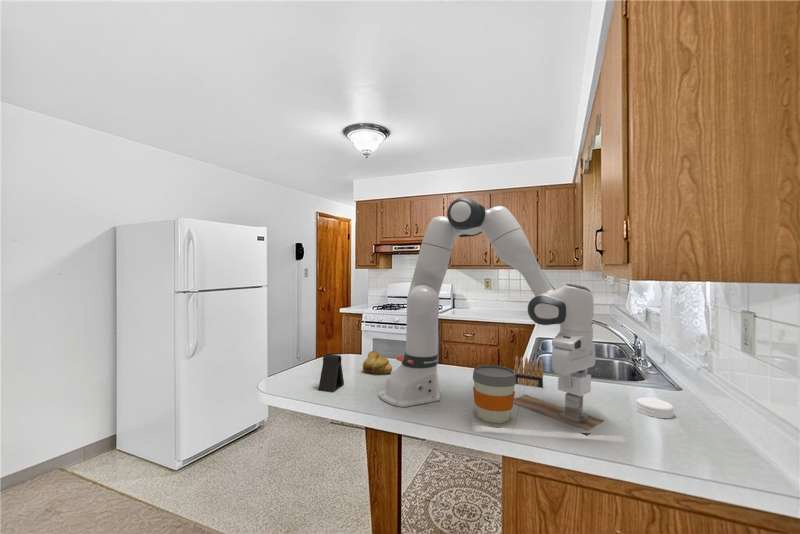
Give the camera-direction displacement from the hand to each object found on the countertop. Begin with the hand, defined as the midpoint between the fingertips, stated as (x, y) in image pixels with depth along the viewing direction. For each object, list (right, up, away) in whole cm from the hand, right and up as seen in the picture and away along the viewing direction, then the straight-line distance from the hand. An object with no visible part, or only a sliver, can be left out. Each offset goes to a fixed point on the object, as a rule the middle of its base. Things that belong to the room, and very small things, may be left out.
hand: (574, 385), depth 110 cm
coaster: (+31, -12, +10) cm, 34 cm away
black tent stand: (-77, -9, +25) cm, 82 cm away
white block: (0, -2, 0) cm, 2 cm away
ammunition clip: (-4, -11, +30) cm, 32 cm away
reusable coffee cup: (-24, -11, 0) cm, 27 cm away
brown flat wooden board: (-4, -11, +5) cm, 13 cm away
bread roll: (-62, -10, +46) cm, 77 cm away
